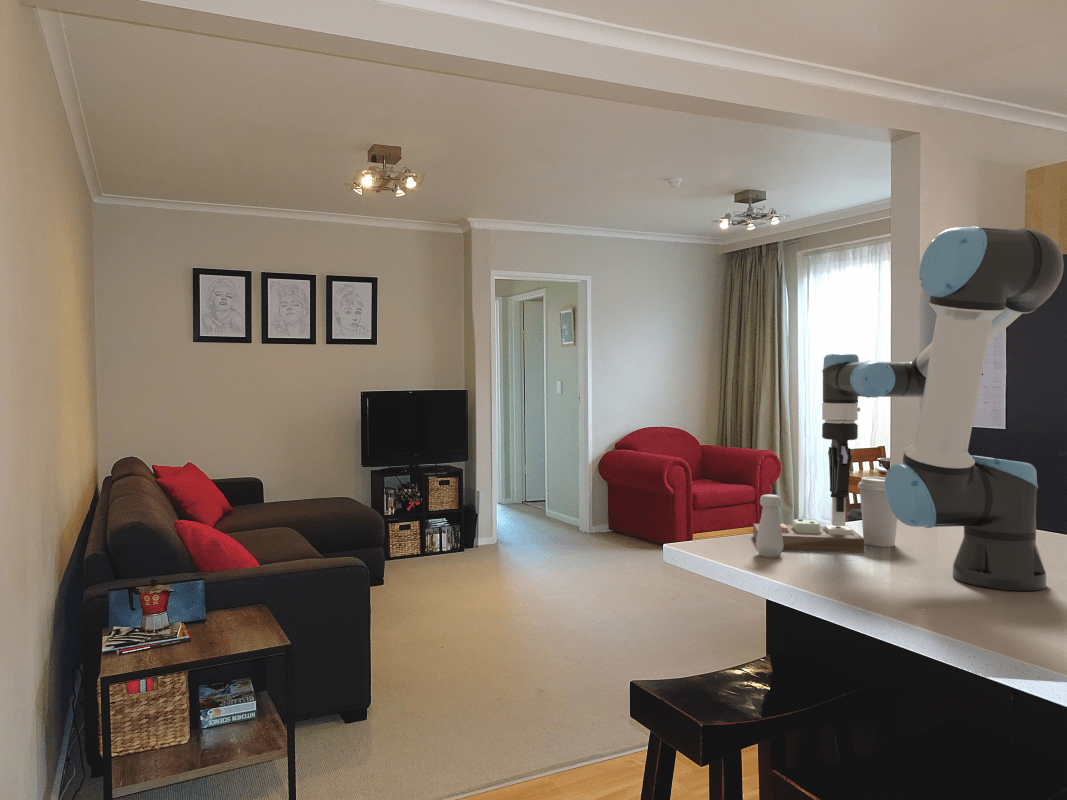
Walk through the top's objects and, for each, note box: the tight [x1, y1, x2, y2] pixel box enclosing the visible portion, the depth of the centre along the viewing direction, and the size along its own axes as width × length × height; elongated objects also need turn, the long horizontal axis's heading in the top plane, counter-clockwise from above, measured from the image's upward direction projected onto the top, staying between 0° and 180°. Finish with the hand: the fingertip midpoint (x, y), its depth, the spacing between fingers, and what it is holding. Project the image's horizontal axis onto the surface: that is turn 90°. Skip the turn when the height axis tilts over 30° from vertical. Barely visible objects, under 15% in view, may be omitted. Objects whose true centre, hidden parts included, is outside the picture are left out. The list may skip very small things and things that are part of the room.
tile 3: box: [780, 523, 787, 533], centre depth 181 cm, size 5×5×3 cm
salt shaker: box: [755, 493, 784, 559], centre depth 168 cm, size 6×6×13 cm
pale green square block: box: [792, 519, 821, 534], centre depth 180 cm, size 5×5×3 cm
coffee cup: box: [857, 476, 898, 548], centre depth 180 cm, size 10×10×15 cm
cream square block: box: [824, 524, 853, 535], centre depth 179 cm, size 5×5×3 cm
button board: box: [752, 523, 865, 553], centre depth 180 cm, size 14×22×3 cm, turn 80°
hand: (838, 525), depth 179 cm, fingers closed
